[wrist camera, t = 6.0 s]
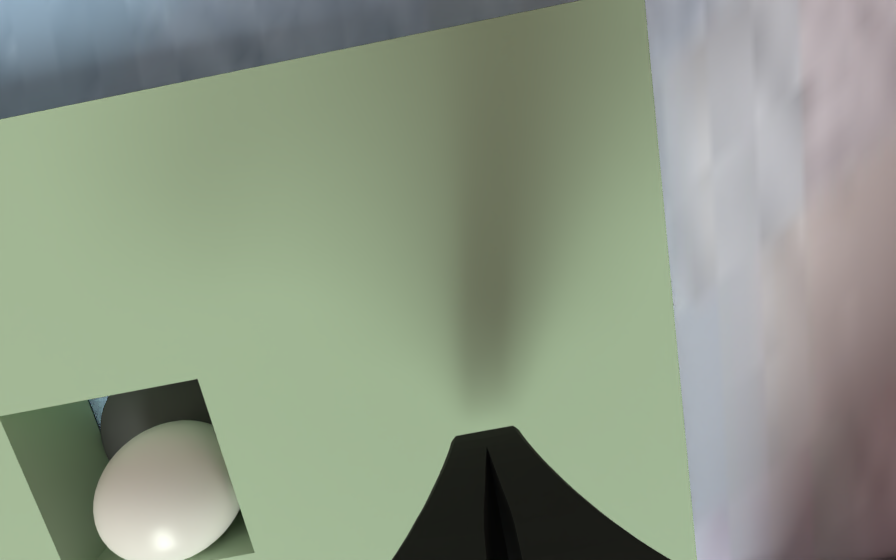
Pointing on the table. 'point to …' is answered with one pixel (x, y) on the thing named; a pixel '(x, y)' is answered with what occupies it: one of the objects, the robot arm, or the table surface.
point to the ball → (165, 494)
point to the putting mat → (348, 285)
